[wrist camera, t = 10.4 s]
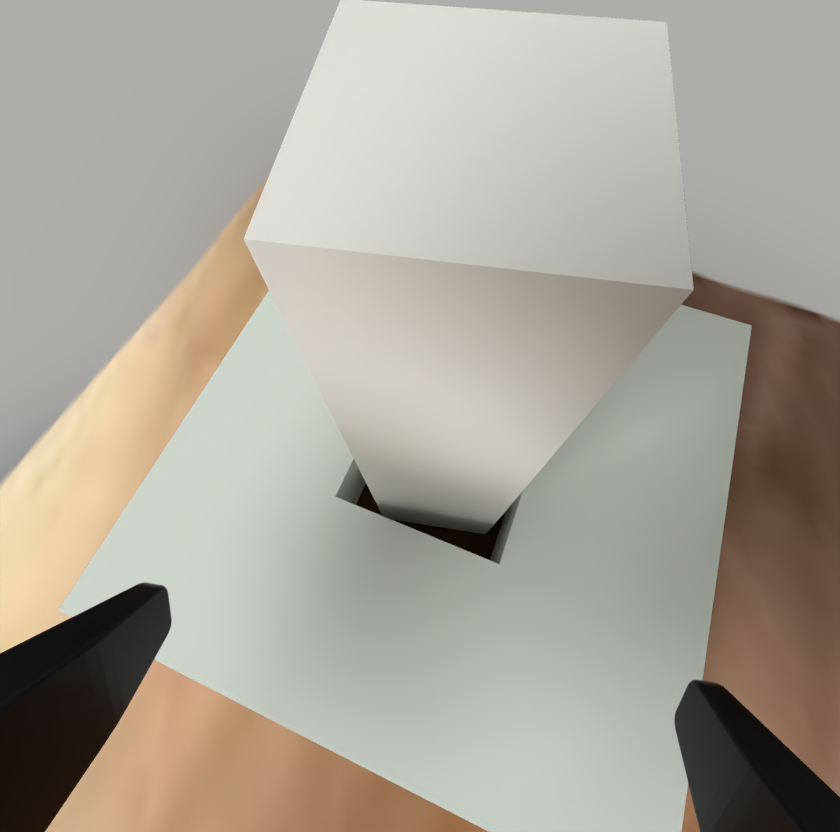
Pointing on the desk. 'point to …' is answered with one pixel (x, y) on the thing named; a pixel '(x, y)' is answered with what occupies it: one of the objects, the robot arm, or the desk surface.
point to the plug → (473, 239)
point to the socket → (452, 587)
